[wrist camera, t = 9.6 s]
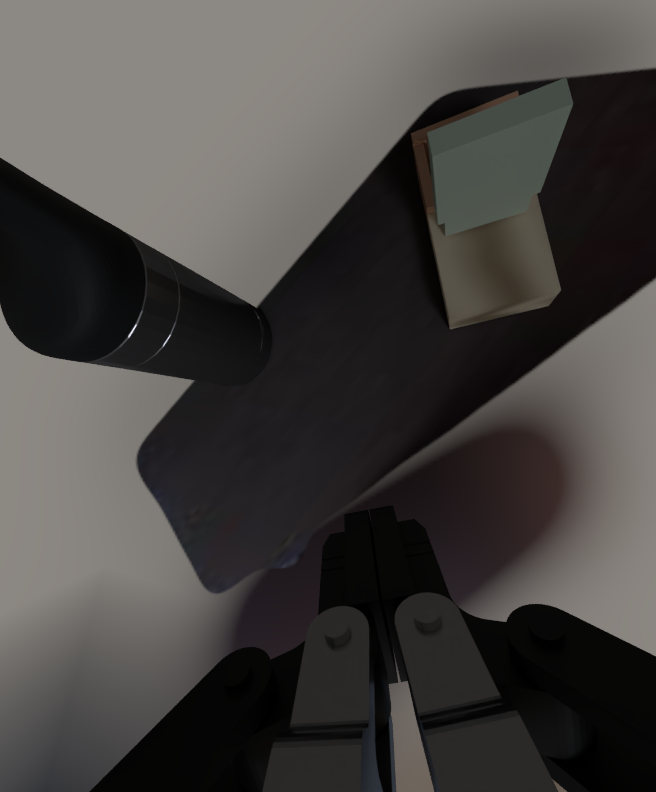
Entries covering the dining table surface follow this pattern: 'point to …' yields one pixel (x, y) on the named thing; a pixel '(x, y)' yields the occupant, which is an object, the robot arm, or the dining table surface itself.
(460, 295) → the beige open box
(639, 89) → the dining table surface
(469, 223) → the green rectangular slab
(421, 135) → the cup
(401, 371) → the dining table surface
